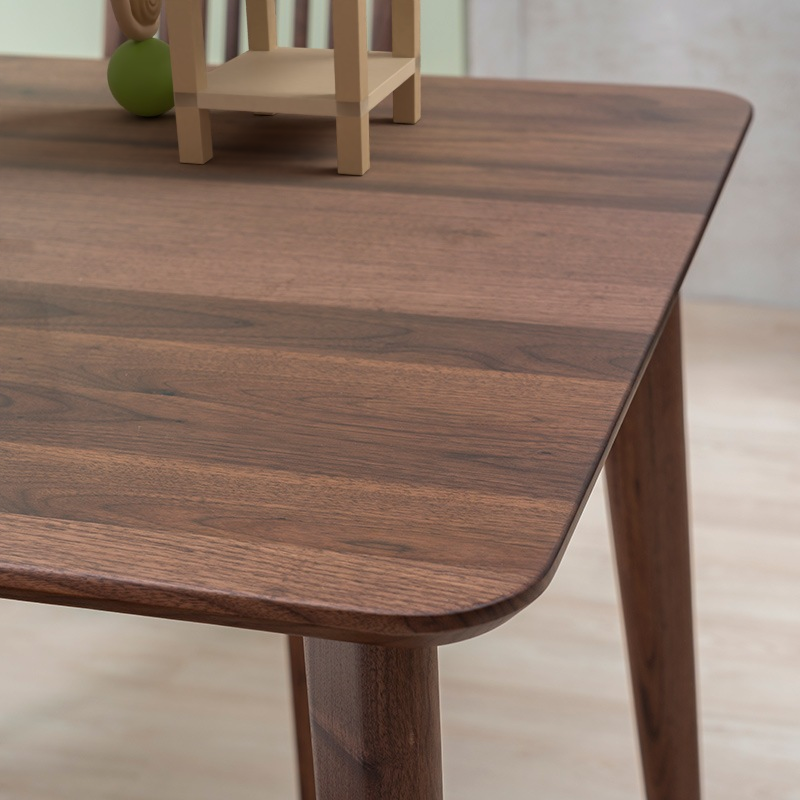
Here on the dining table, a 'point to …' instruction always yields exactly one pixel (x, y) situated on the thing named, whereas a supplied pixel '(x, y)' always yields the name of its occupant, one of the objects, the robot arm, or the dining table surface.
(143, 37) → the snail figurine
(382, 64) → the rack
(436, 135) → the dining table surface
